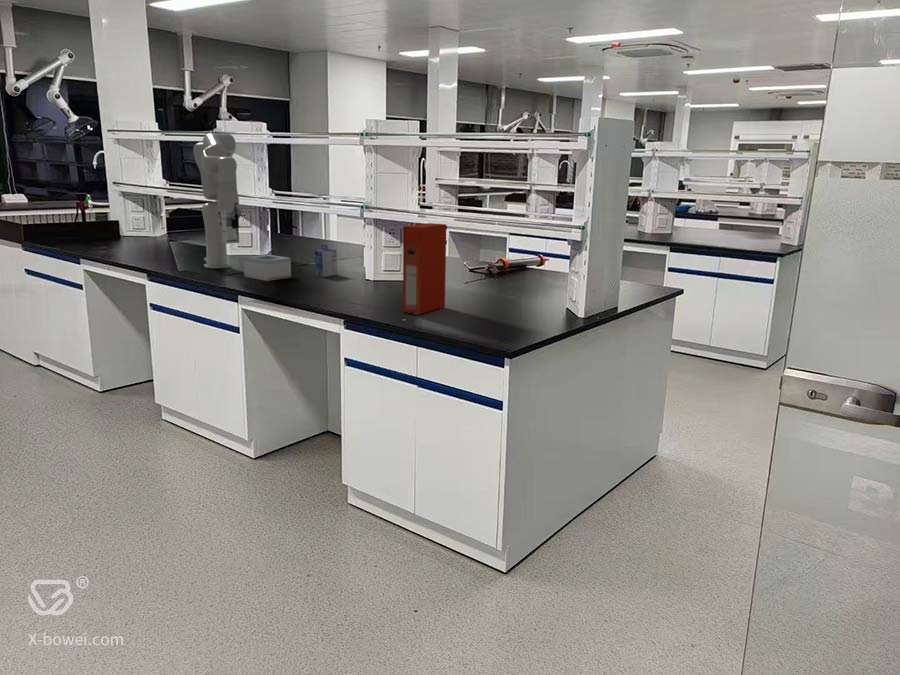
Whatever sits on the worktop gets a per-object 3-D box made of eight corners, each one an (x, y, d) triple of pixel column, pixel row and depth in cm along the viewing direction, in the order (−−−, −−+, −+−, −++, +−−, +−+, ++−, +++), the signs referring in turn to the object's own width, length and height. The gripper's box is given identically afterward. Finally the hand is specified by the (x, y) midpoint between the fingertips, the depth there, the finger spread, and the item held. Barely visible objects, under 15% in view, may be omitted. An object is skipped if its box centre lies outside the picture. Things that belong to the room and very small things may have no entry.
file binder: (402, 312, 254) (403, 226, 246) (427, 304, 269) (429, 222, 260) (420, 315, 250) (422, 227, 242) (444, 307, 265) (447, 224, 256)
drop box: (244, 276, 316) (243, 257, 314) (268, 273, 327) (267, 254, 325) (267, 281, 307) (266, 261, 305) (291, 277, 318) (290, 258, 316)
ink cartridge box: (329, 273, 331) (329, 243, 327) (338, 274, 328) (337, 244, 324) (314, 276, 323) (314, 245, 320) (323, 277, 320) (322, 246, 317)
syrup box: (226, 243, 301) (224, 210, 297) (222, 242, 305) (220, 209, 301) (239, 243, 304) (237, 210, 300) (234, 241, 308) (233, 208, 304)
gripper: (208, 185, 300) (210, 226, 304) (233, 188, 290) (235, 230, 295) (222, 185, 306) (224, 225, 310) (247, 187, 296) (249, 228, 301)
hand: (229, 227), depth 303 cm, fingers closed on syrup box, 7 cm apart
